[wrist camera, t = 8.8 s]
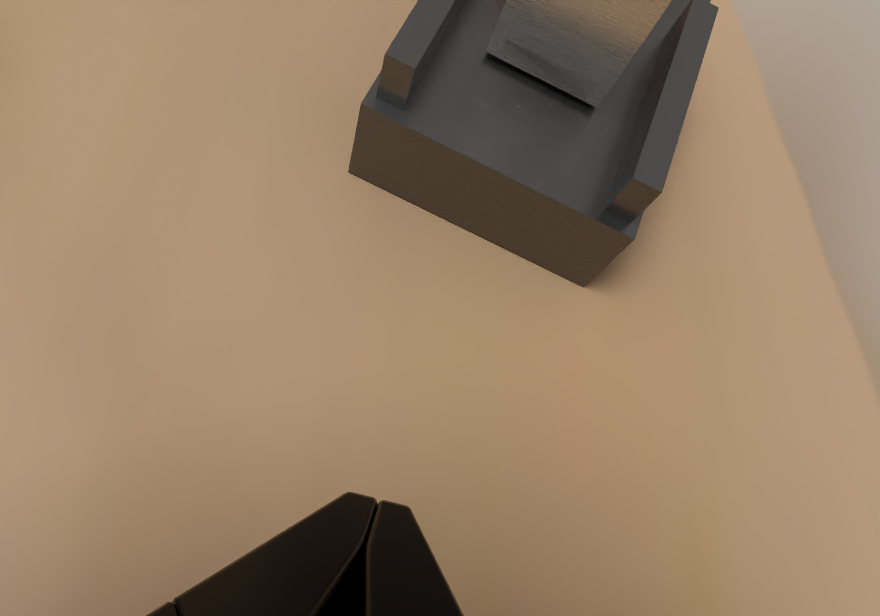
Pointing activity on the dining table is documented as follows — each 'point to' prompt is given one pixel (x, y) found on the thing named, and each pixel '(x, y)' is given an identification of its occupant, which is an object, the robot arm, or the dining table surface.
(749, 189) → the dining table surface
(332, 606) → the robot arm
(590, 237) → the grey walled tray
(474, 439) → the dining table surface
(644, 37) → the tapered wooden notched block
